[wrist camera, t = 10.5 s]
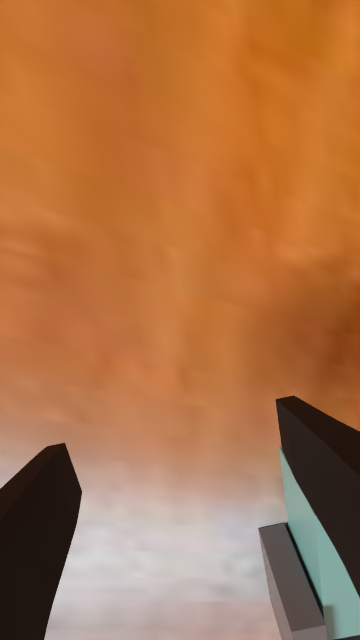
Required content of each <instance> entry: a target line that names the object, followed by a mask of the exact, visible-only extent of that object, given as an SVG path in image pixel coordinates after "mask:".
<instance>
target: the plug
mask: <svg viewBox="0 0 360 640" xmlns="http://www.w3.org/2000/svg"><path fill="white" fill-rule="evenodd" d="M279 452H280V460H281V469H282V477H283V486H284V494H285V503H286V512H287V520H288V529H289V536H290V539H291V541H292V544H293V546H294V549H295V551H296V553H297V556H298V558H299V561H300V563H301V566H302V568H303V570H304V573H305V575H306V578H307V580H308V583H309V585H310V588H311V590H312V592H313V595H314V597H315V600H316V602H317V605H318V607H319V609H320V612H321V614H322V617H323V619H324V622H325V624H326V631H327V640H335V639H340V638H345V637H351V636H356V635H360V598H359V596H358V594H357V592H356V589H355V587H354V585H353V583H352V581H351V579H350V577H349V575H348V573H347V571H346V568H345V566H344V564H343V562H342V560H341V559H340V557H339V555H338V553H337V551H336V549H335V547H334V546H333V544H332V542H331V540H330V539H329V537H328V535H327V534H326V532H325V530H324V528H323V527H322V525H321V523H320V522H319V520H318V518H317V516H316V515H315V513H314V511H313V510H312V508H311V506H310V505H309V503H308V501H307V499H306V498H305V496H304V494H303V492H302V491H301V489H300V487H299V485H298V484H297V482H296V480H295V478H294V476H293V474H292V472H291V469H290V467H289V465H288V462H287V460H286V458H285V455H284V453H283V451H282V447H279Z"/></svg>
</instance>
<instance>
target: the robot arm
mask: <svg viewBox="0 0 360 640" xmlns="http://www.w3.org/2000/svg"><path fill="white" fill-rule="evenodd" d="M276 406H277V414H278V421H279V429H280V436H281V444H282V451H283V453H284V455H285V458H286V460H287V462H288V465H289V467H290V469H291V472H292V474H293V476H294V478H295V480H296V482H297V484H298V485H299V487H300V489H301V491H302V492H303V494H304V496H305V498H306V499H307V501H308V503H309V505H310V506H311V508H312V510H313V511H314V513H315V515H316V516H317V518H318V520H319V522H320V523H321V525H322V527H323V528H324V530H325V532H326V534H327V535H328V537H329V539H330V540H331V542H332V544H333V546H334V547H335V549H336V551H337V553H338V555H339V557H340V559H341V560H342V562H343V564H344V566H345V568H346V571H347V573H348V575H349V577H350V579H351V581H352V583H353V585H354V587H355V589H356V592H357V594H358V596H359V598H360V432H359V431H357V430H355V429H353V428H351V427H349V426H347V425H345V424H344V423H342V422H340V421H338V420H336V419H334V418H332V417H331V416H329V415H327V414H325V413H323V412H322V411H320V410H318V409H316V408H315V407H313V406H311V405H309V404H308V403H306V402H304V401H302V400H301V399H299V398H297V397H295V396H289V397H285V398H280V399H276ZM81 495H82V490H81V487H80V484H79V482H78V479H77V476H76V473H75V470H74V467H73V465H72V462H71V459H70V456H69V453H68V450H67V448H66V445H65V443H61V444H56V445H51V446H47V447H46V448H45V449H43V450H42V451H41V452H40V453H38V454H37V455H36V456H35V457H34V458H33V459H32V460H31V461H30V462H29V463H28V464H26V465H25V466H24V467H23V468H22V469H21V470H20V471H19V472H18V473H17V474H16V475H15V476H14V477H13V478H12V479H10V480H9V481H8V482H7V483H6V484H5V485H4V486H3V487H2V488H1V489H0V640H44V638H45V633H46V628H47V624H48V620H49V616H50V612H51V608H52V605H53V601H54V598H55V595H56V591H57V588H58V585H59V581H60V578H61V575H62V571H63V568H64V565H65V562H66V558H67V555H68V552H69V548H70V545H71V541H72V538H73V535H74V531H75V528H76V524H77V519H78V514H79V508H80V502H81Z"/></svg>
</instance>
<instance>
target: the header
mask: <svg viewBox="0 0 360 640" xmlns="http://www.w3.org/2000/svg"><path fill="white" fill-rule="evenodd" d="M258 529H259V535H260V541H261V546H262V552H263V558H264V564H265V570H266V575H267V581H268V587H269V593H270V599H271V604H272V607H273V610H274V614H275V617H276V621H277V624H278V628H279V631H280V635H281V638H282V640H327V631H326V624H325V622H324V619H323V617H322V614H321V612H320V609H319V607H318V605H317V602H316V600H315V597H314V595H313V592H312V590H311V588H310V585H309V583H308V580H307V578H306V575H305V573H304V570H303V568H302V566H301V563H300V561H299V558H298V556H297V553H296V551H295V549H294V546H293V544H292V541H291V539H290V536H289V534H288V531H287V529H286V527H285V524H284V523H283V524H278V525H273V526H268V527H263V528H258ZM335 640H360V635H356V636H351V637H345V638H340V639H335Z"/></svg>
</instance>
